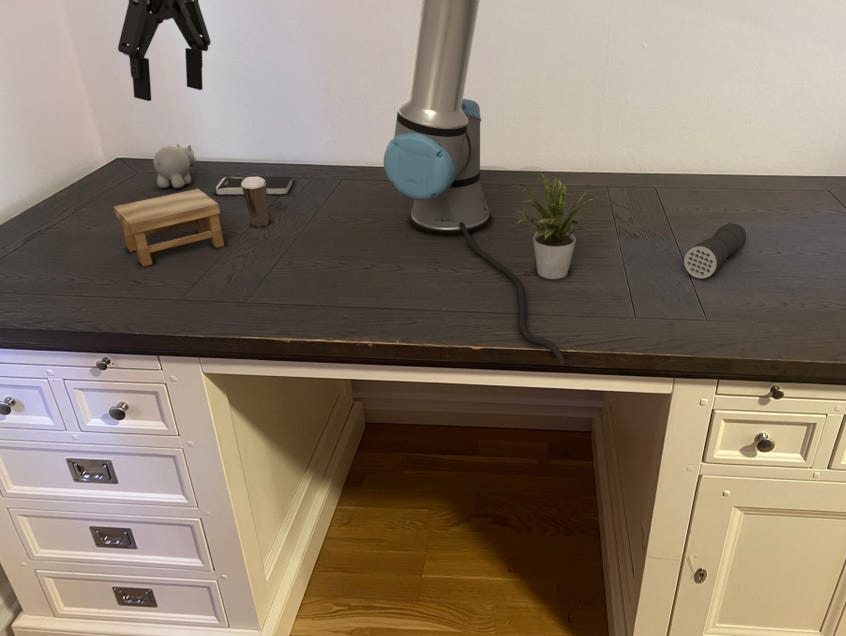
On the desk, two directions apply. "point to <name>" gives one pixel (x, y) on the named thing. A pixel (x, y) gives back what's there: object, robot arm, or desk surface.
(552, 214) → the house plant
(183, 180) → the round bodied animal figurine
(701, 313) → the desk surface
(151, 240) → the desk surface
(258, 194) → the milkshake
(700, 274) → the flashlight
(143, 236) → the stool
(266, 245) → the desk surface
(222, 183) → the smartphone
